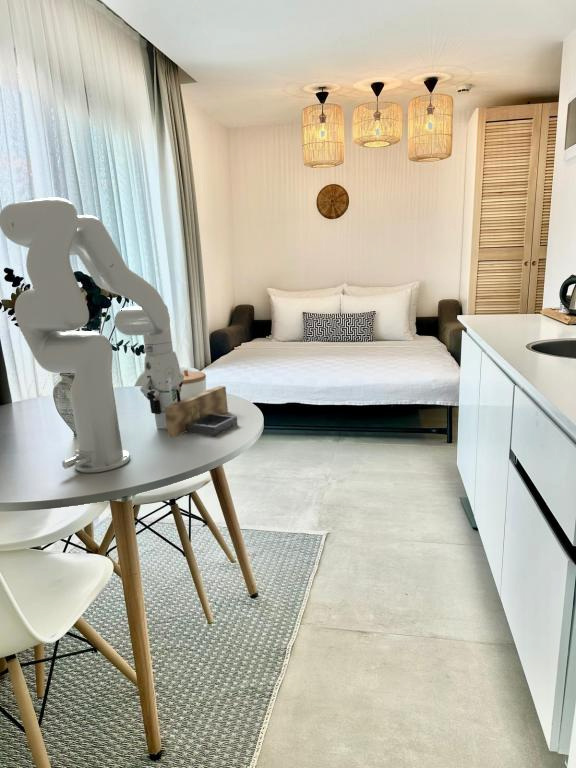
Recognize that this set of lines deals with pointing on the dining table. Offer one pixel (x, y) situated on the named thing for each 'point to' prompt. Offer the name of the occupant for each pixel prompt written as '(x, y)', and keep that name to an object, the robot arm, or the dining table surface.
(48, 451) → the dining table surface
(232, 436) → the dining table surface
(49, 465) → the dining table surface
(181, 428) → the board
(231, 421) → the tray
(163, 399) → the syrup box
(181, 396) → the lidded bowl
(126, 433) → the dining table surface
